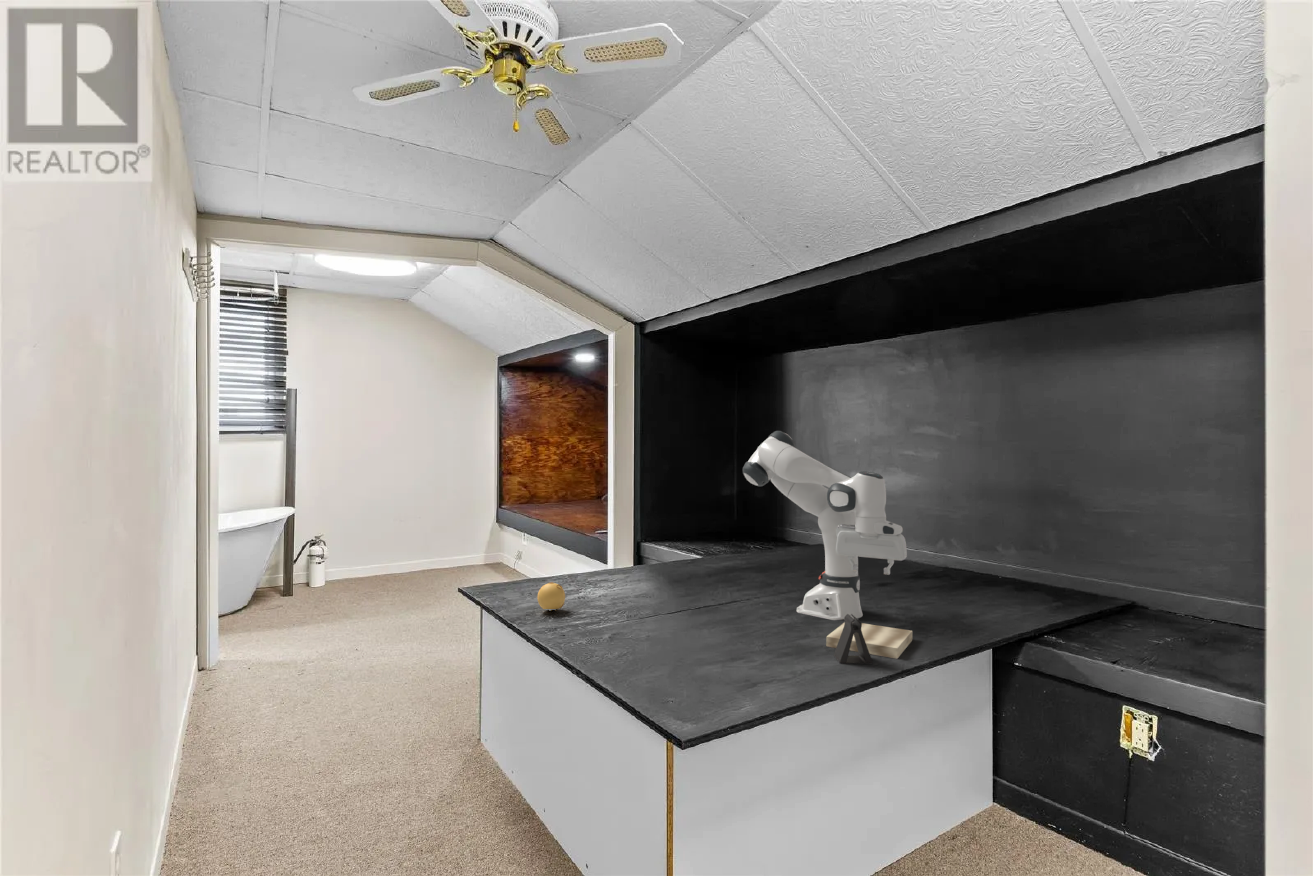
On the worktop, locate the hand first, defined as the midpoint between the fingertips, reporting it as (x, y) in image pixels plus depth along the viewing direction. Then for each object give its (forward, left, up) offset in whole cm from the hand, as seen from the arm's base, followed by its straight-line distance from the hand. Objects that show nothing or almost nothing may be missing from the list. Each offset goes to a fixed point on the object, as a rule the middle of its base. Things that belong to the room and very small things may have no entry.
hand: (870, 572), depth 193 cm
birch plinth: (0, 0, -21) cm, 21 cm away
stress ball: (-105, -24, -21) cm, 110 cm away
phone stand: (0, -18, -22) cm, 28 cm away
